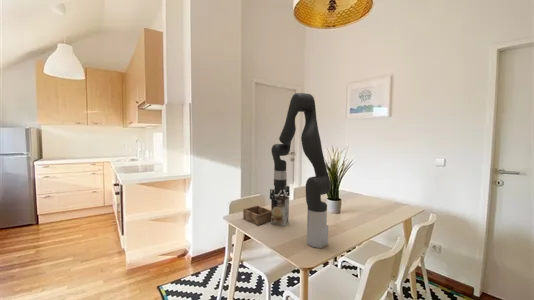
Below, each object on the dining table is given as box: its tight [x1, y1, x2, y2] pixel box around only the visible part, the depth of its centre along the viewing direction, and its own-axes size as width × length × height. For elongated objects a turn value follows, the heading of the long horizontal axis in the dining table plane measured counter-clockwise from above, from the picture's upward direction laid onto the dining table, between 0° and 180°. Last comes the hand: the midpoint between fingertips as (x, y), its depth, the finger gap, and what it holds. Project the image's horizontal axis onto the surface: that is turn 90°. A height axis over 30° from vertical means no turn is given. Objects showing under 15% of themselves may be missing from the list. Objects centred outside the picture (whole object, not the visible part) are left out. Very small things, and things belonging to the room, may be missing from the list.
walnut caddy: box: [242, 205, 271, 226], centre depth 149 cm, size 15×12×6 cm
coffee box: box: [270, 195, 290, 227], centre depth 143 cm, size 9×6×16 cm
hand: (279, 204), depth 143 cm, fingers open, 8 cm apart
